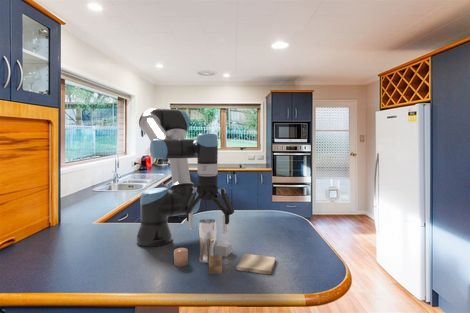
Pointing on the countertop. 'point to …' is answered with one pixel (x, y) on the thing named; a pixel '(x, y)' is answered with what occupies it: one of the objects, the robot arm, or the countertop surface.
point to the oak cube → (215, 264)
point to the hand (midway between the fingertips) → (207, 231)
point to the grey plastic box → (223, 248)
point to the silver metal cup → (206, 238)
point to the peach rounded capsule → (180, 257)
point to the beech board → (256, 264)
